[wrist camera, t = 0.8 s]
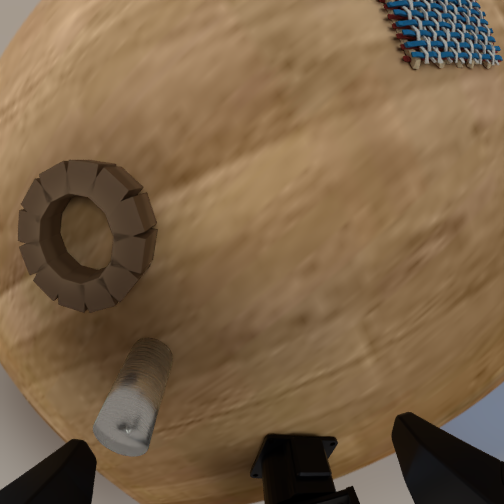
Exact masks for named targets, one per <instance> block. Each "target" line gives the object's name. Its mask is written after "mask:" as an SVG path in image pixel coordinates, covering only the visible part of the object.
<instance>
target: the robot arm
mask: <svg viewBox="0 0 504 504" xmlns="http://www.w3.org/2000/svg"><path fill="white" fill-rule="evenodd" d="M392 442H393V445H394V448H395V451H396V454H397V458H398V461H399V464H400V467H401V471H402V474H403V477H404V480H405V483H406V485H407V487H408V490H409V492H410V494H411V496H412V498H413V500H414V503H415V504H504V462H503V461H501V462H500V460H499V459H497V458H495V457H493V456H491V455H489V454H487V453H485V452H483V451H481V450H479V449H477V448H475V447H473V446H471V445H470V444H468V443H466V442H464V441H462V440H460V439H458V438H456V437H455V436H453V435H451V434H449V433H447V432H445V431H444V430H442V429H440V428H438V427H436V426H435V425H433V424H431V423H429V422H428V421H426V420H424V419H422V418H420V417H419V416H417V415H415V414H413V413H412V412H406V413H403V414H400V415H397V416H396V418H395V422H394V426H393V430H392ZM337 444H338V442H337V439H336V438H330V437H300V436H284V435H268V436H266V438H265V440H264V442H263V445H262V447H261V449H260V451H259V454H258V456H257V458H256V460H255V463H254V465H253V467H252V469H251V471H250V476H251V477H252V478H262V480H263V491H264V501H265V504H360V502H359V500H358V497H357V495H356V492H355V490H354V487H353V486H351V487H347V488H346V489H344V490H341V491H338V492H336V489H335V486H334V482H333V479H332V475H331V474H332V473H331V469H330V466H329V462H328V458H329V457H330V455H331V453H332V452H333V450H334V449H335V447H336V446H337ZM96 464H97V461H96V457H95V455H94V454H93V452H92V451H91V449H90V447H89V446H88V444H87V443H86V442H85V441H84V440H79V439H72V440H70V441H69V442H67V443H66V444H65V445H63V446H62V447H61V448H59V449H58V450H56V451H55V452H54V453H52V454H51V455H50V456H48V457H47V458H45V459H44V460H43V461H41V462H40V463H38V464H37V465H36V466H34V467H33V468H31V469H30V470H29V471H27V472H26V473H24V474H23V475H21V476H20V477H19V478H18V479H16V480H14V481H13V482H11V483H10V484H9V485H7V486H6V487H4V488H3V489H1V490H0V504H91V502H92V495H93V487H94V479H95V471H96Z"/></svg>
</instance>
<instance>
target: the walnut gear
mask: <svg viewBox="0 0 504 504" xmlns="http://www.w3.org/2000/svg"><path fill="white" fill-rule="evenodd" d="M39 177H40V178H37V179H34V181H33V183H32V185H31V186H30V188H29V190H28V192H27V194H26V196H25V197H24V199H23V201H22V203H21V205H22V206H23V207H24V209H22V210H19V223H18V241H20V242H24V243H26V244H24V245H22V246H20V247H19V249H20V251H21V254H22V257H23V259H24V262H25V265H26V267H27V270H28V272H29V275H32V274H35V273H37V274H36V276H35V278H34V280H33V281H34V282H35V283H36V284H37V285H38V286H39V287H40V288H41V289H42V290H43V291H44V292H45V293H46V294H47V295H48V296H49V297H50V298H51V299H52V300H53V301H55V300H56V299H57V298H58V304H59V305H62V306H65V307H68V308H71V309H74V310H77V311H80V312H84V313H85V311H86V310H87V309H88V310H89V312H90V313H91V312H95V311H98V310H102V309H105V308H109V307H112V306H115V305H116V304H117V303H118V302H121V301H122V299H123V298H124V297H125V296H126V295H127V293H128V292H129V291H130V290H131V288H132V287H133V286H134V285H135V283H136V282H137V281H138V280H139V279H140V277H141V276H142V275H143V274H144V272H145V271H146V270H147V269H148V268H149V266H150V262H151V261H152V260H153V256H154V249H155V243H156V236H157V230H158V229H153V228H151V227H152V226H154V225H155V224H156V223H157V221H156V218H155V215H154V213H153V210H152V207H151V204H150V201H149V198H148V195H147V193H144V194H140V195H137V194H138V193H139V192H140V191H141V189H142V188H143V186H142V185H140V184H139V183H138V182H137V181H136V180H135V179H134V178H133V177H132V176H131V175H130V174H128V173H127V172H126V171H125V170H124V169H123V168H122V167H116V164H112V163H106V162H99V161H93V160H69V161H62V162H60V163H59V164H57V165H55V166H53V167H51V168H49V169H48V170H46V171H44V172H42V173H41V174H39ZM75 195H79V196H85V197H89V198H90V199H91V200H92V201H93V202H94V203H95V204H96V205H97V206H98V207H99V208H100V209H101V210H102V211H103V212H104V213H105V214H106V217H107V220H108V223H109V226H110V229H111V232H112V234H113V237H114V238H113V247H112V256H111V262H110V263H109V265H108V266H107V267H105V268H103V269H100V270H96V269H92V268H88V267H85V266H81V265H80V264H79V263H78V262H77V261H76V260H75V259H74V258H72V257H71V256H70V255H69V254H68V253H67V251H66V248H65V246H64V243H63V240H62V237H61V235H60V226H61V215H62V212H63V210H64V209H65V207H66V205H67V204H68V202H69V201H70V199H71V198H72V197H73V196H75Z"/></svg>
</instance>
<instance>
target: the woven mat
mask: <svg viewBox="0 0 504 504" xmlns="http://www.w3.org/2000/svg"><path fill="white" fill-rule="evenodd" d="M379 1H380V2H382V3H385V4H384V5H383V6H384V8H385V9H387V11H388V13H389V14H388V15H387V16H388V18H389V19H391V20H392V22H393V24H392V27H393V29H396V31H397V34H396V36H397V39H400V41H401V48H402V50H404V51H405V53H406V54H407V55H405V56H403V59H404V61H406V62H411V63H410V64H411V66H412V68H414V69H419V67H420V63H421V61H422V60H423V62H424V64H430V63H429V60H432V61H433V63H435V64H436V65H437V66H438V67H439V68H444V66H445V64H451V62H453V61H452V60H455V61H454V62H455V63H456V65H457V68H463V65H462V64H463V63H465V61H466V65H467V67H470V68H473V67H474V64H482V63H483V65H484V66H485V67H486V68H487V69H489V68H491V66H495V63H496V65H499V63H498V62H501V61H503V60H502V57H501V56H500V55H495V53H498V52H497V51H500V50H501V49H500V47H499V46H493V44H494V43H493V42H496V41H495V39H494V38H493V37H492V36H490V35H491V33H493V30H492V28H491V29H489V28H488V27H487V26H486V25H489V24H488V22H487V21H486V20H485V19H483V18H484V16H486V15H485V12H481V11H480V8H481V7H480V5H479V4H478V3H477V2H476V1H475V0H379ZM399 19H403V20H405V21H400V20H399ZM466 24H467V25H466ZM473 26H474V27H473ZM484 27H485V28H486V29H485V28H484ZM404 29H406V30H404ZM408 29H410V30H408ZM429 30H430V31H431V32H429ZM441 30H443V31H441ZM450 31H452V32H450ZM478 34H479V35H478ZM408 39H411V40H413V41H412V42H409V41H408ZM432 39H433V40H432ZM446 40H447V41H446ZM464 41H466V42H464ZM472 42H474V44H473V43H472ZM414 49H418V51H419V52H416V51H415V50H414ZM425 49H427V51H426V50H425ZM440 51H443V52H440ZM475 52H476V53H475ZM486 53H487V54H486ZM443 60H444V61H445V62H446V63H445V62H444V61H443ZM489 61H490V62H489ZM494 62H495V63H494Z"/></svg>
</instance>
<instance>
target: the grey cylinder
mask: <svg viewBox="0 0 504 504" xmlns="http://www.w3.org/2000/svg"><path fill="white" fill-rule="evenodd" d="M172 363H173V356H172V353H171V351H170V350H169V348H168V347H167V346H166V345H165V344H164V343H162V342H160V341H158V340H156V339H152V338H144V339H141V340H139V341H137V342H136V343H135V344H134V346H133V347H132V349H131V351H130V353H129V355H128V357H127V359H126V361H125V363H124V365H123V367H122V369H121V370H120V372H119V374H118V376H117V378H116V380H115V382H114V384H113V386H112V388H111V390H110V392H109V394H108V396H107V398H106V400H105V402H104V404H103V406H102V408H101V410H100V413H99V415H98V417H97V419H96V421H95V423H94V425H93V432H94V435H95V436H96V438H97V439H98V441H99V442H100V443H101V444H102V445H104V446H105V447H106V448H108V449H110V450H111V451H113V452H116V453H118V454H121V455H125V456H140V455H143V454H145V453H146V452H147V450H148V448H149V444H150V440H151V436H152V433H153V429H154V425H155V422H156V418H157V415H158V411H159V407H160V404H161V400H162V397H163V393H164V390H165V387H166V383H167V380H168V376H169V373H170V370H171V366H172Z"/></svg>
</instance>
